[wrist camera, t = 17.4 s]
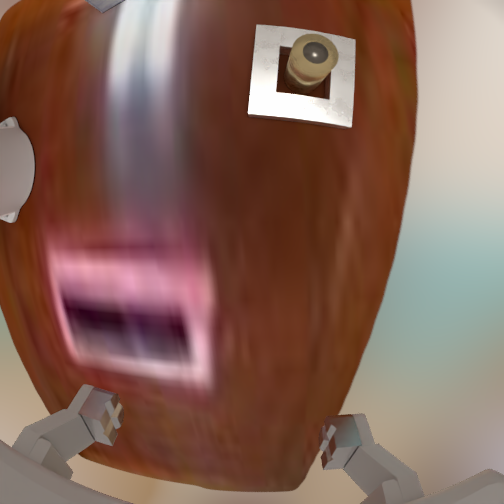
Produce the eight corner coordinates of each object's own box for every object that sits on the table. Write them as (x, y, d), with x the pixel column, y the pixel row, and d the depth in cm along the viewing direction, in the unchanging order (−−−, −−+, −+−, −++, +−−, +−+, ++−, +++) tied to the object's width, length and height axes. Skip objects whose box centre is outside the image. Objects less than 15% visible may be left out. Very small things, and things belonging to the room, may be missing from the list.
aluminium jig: (249, 117, 32) (248, 113, 29) (256, 33, 28) (256, 24, 25) (344, 129, 32) (351, 127, 29) (348, 47, 28) (355, 39, 26)
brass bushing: (282, 91, 31) (290, 69, 22) (284, 61, 30) (293, 30, 20) (317, 96, 31) (338, 76, 22) (319, 65, 30) (339, 37, 20)
